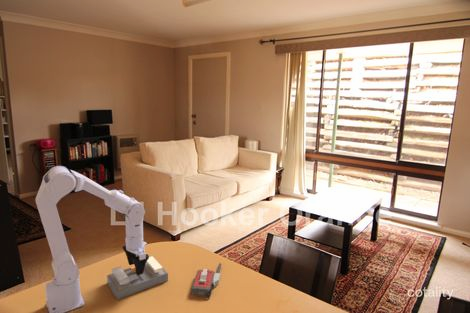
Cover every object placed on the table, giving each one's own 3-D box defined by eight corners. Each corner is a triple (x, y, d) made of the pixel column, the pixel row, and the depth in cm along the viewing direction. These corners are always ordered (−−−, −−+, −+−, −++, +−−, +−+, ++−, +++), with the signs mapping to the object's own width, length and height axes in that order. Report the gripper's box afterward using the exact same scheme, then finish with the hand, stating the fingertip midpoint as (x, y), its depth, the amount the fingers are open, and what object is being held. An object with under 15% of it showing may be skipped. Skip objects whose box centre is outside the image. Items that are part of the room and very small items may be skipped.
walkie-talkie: (215, 300, 102) (223, 267, 122) (215, 288, 101) (223, 256, 121) (189, 298, 103) (201, 265, 122) (189, 286, 102) (201, 255, 121)
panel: (117, 299, 100) (116, 291, 100) (107, 282, 109) (106, 275, 108) (167, 280, 111) (167, 273, 111) (155, 266, 120) (155, 259, 119)
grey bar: (120, 285, 101) (120, 281, 101) (111, 272, 108) (111, 269, 108) (129, 282, 103) (129, 278, 103) (120, 269, 110) (120, 266, 110)
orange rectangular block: (132, 273, 109) (132, 268, 109) (130, 271, 111) (130, 266, 110) (140, 270, 111) (140, 266, 111) (138, 268, 112) (138, 264, 112)
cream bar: (154, 273, 108) (154, 270, 108) (144, 261, 115) (144, 258, 115) (162, 270, 110) (162, 267, 110) (152, 259, 117) (152, 256, 117)
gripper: (154, 239, 104) (154, 274, 107) (138, 223, 115) (139, 256, 118) (133, 244, 100) (134, 282, 103) (119, 228, 111) (120, 262, 114)
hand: (136, 268), depth 110 cm, fingers open, 7 cm apart
